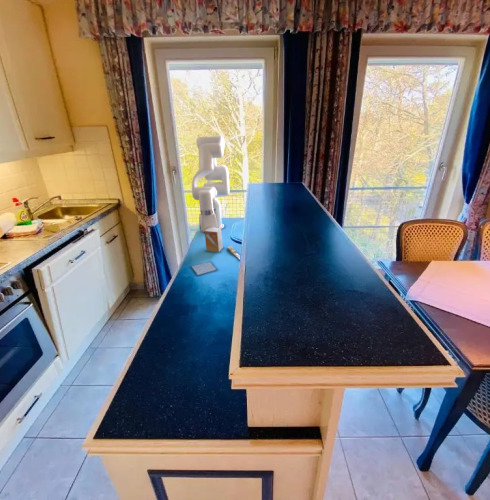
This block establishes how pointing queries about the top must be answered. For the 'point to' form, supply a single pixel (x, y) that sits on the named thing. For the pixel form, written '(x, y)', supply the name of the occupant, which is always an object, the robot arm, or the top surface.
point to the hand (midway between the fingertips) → (210, 240)
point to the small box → (213, 239)
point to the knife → (233, 252)
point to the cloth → (203, 268)
